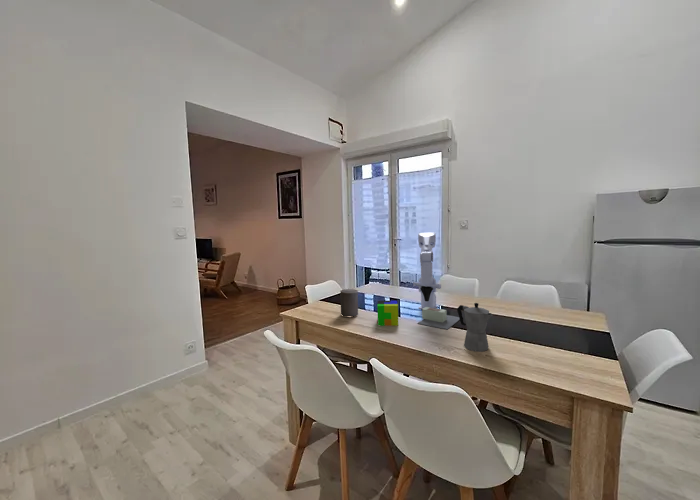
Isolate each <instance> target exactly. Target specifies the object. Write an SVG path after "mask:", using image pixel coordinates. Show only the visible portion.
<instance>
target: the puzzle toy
mask: <svg viewBox="0 0 700 500" xmlns="http://www.w3.org/2000/svg"><path fill="white" fill-rule="evenodd" d="M378 325H380V326H383V327H384V326H386V327H388V326H390V327H391V326H392V327H393V326H399V303H398V301H397V300H377V326H378Z"/></svg>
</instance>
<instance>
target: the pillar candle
mask: <svg viewBox="0 0 700 500" xmlns="http://www.w3.org/2000/svg"><path fill="white" fill-rule="evenodd" d="M339 293H340V315H341V314H342V315H343V316H356V315H358V316H359V297H358V296H359V290H357V289H356V288H355V289H354V288H344V289H341V290H340V292H339ZM356 317H357V316H356Z"/></svg>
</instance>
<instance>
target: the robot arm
mask: <svg viewBox="0 0 700 500" xmlns="http://www.w3.org/2000/svg"><path fill="white" fill-rule="evenodd" d="M436 234H437V233H436V232H435V231H434V232H418V236H417V240H418V246H419V248H420V253H419V263H420V278H419V279H418V281H413V282H412V285H413V287H418V292H419V293H420V306H418V309H420V310H422V309H423V308H425V307H430V308H436V309H437V308H438V305H437V295H436V292H437V289H438V290H441V289H442V284H441V283H437V280H436V278H435V277H434V276H433V275H434V274H433V263H434V252H433V249H434V248H435V247H436V241H437V238H436Z"/></svg>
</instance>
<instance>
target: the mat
mask: <svg viewBox="0 0 700 500" xmlns="http://www.w3.org/2000/svg"><path fill="white" fill-rule="evenodd" d="M458 322H460V319H459V316H454V315H449V314H447V320H446V321H444V322H437V321H432V320H427V319H422V320H420V321H418V322H417V325H422V326H426V327H432V328H435V329H441V330H445V331H446V330H449V329H450V328H452V327H453V326H454V325H455V324H457V323H458Z"/></svg>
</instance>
